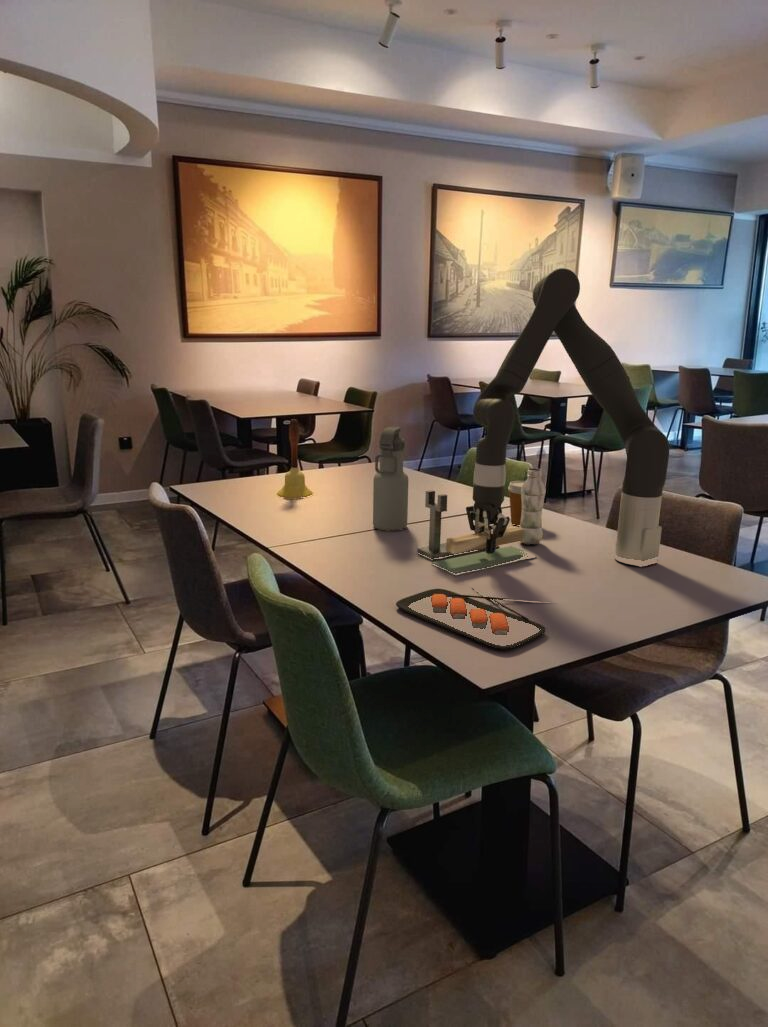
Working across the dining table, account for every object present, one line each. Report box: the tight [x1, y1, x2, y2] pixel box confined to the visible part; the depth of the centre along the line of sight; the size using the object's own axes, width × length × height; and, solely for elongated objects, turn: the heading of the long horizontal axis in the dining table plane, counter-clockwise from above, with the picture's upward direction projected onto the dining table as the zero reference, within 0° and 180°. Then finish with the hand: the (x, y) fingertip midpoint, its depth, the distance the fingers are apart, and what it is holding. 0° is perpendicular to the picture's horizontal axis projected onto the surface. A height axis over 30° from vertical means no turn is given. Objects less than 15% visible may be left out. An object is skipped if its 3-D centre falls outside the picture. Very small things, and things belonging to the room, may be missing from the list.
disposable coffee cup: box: [507, 480, 526, 525], centre depth 208 cm, size 10×10×12 cm
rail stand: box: [416, 489, 487, 559], centre depth 182 cm, size 6×22×16 cm, turn 124°
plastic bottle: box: [519, 467, 547, 545], centre depth 188 cm, size 6×7×20 cm
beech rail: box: [445, 525, 524, 554], centre depth 175 cm, size 3×22×3 cm, turn 124°
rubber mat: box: [431, 545, 528, 574], centre depth 176 cm, size 9×26×1 cm, turn 124°
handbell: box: [276, 418, 314, 499], centre depth 237 cm, size 12×12×25 cm
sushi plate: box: [395, 588, 547, 650], centre depth 145 cm, size 29×30×4 cm
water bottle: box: [372, 426, 409, 531], centre depth 200 cm, size 10×10×28 cm
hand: (485, 550), depth 175 cm, fingers closed on beech rail, 3 cm apart
